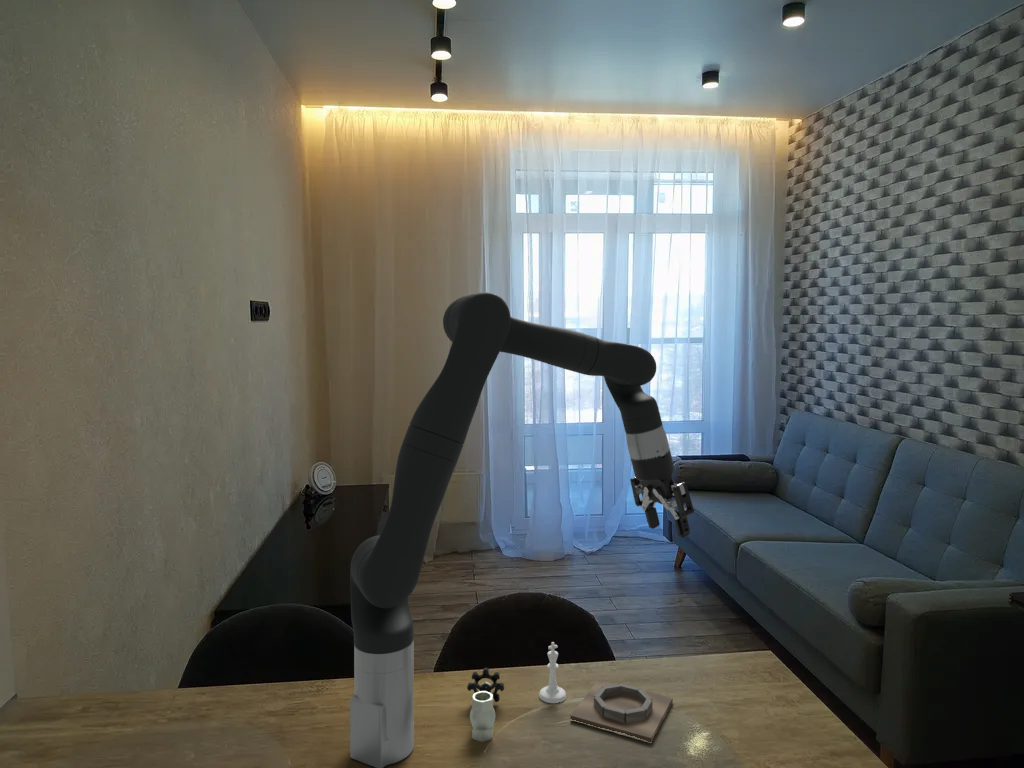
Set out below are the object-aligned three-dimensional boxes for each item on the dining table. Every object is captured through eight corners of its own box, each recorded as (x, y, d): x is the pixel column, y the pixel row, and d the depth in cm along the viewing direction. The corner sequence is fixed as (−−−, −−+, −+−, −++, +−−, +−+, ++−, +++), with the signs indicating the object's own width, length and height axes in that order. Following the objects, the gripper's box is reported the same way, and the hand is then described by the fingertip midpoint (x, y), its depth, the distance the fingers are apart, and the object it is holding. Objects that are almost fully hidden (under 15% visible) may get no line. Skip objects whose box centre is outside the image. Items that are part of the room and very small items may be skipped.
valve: (502, 743, 102) (504, 703, 114) (502, 703, 102) (504, 667, 114) (461, 743, 102) (467, 703, 114) (461, 702, 102) (467, 667, 114)
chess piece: (534, 692, 118) (534, 639, 118) (557, 687, 120) (558, 634, 120) (547, 705, 113) (547, 650, 113) (571, 699, 116) (571, 645, 115)
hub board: (651, 744, 102) (651, 728, 102) (570, 721, 109) (570, 706, 109) (672, 703, 114) (672, 689, 114) (598, 684, 121) (598, 671, 121)
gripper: (611, 454, 125) (631, 531, 127) (658, 461, 112) (680, 547, 114) (641, 442, 128) (659, 517, 130) (690, 447, 115) (710, 531, 117)
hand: (669, 531), depth 122 cm, fingers open, 8 cm apart
